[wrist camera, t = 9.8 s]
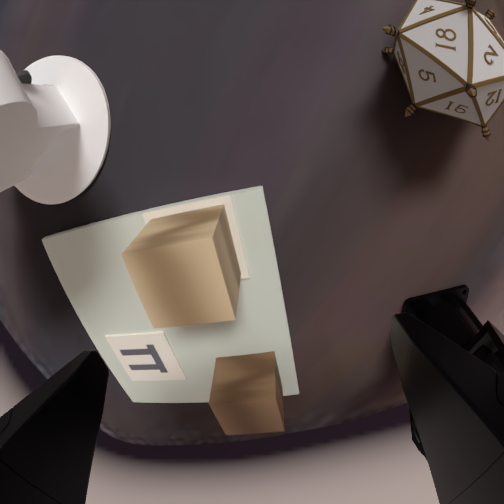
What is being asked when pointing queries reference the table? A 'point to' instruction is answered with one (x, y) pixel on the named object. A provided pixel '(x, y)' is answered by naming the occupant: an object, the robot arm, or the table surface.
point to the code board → (181, 337)
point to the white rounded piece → (51, 128)
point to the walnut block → (247, 394)
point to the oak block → (186, 268)
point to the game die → (450, 60)
